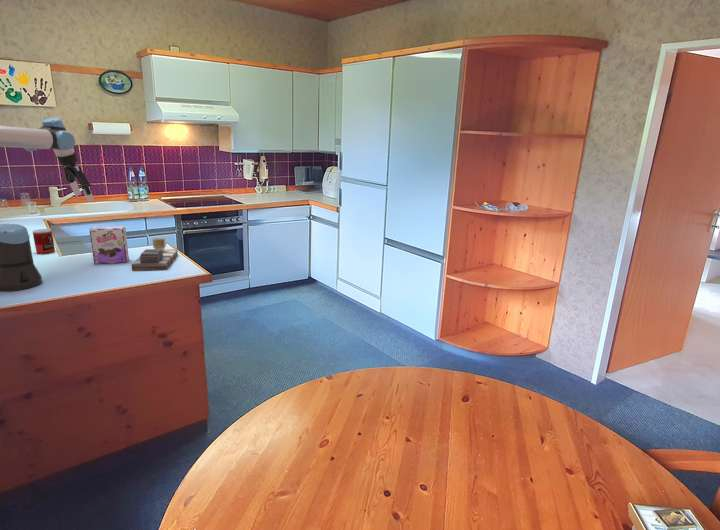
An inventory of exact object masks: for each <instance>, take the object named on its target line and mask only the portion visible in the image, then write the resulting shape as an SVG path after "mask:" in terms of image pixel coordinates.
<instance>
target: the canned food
mask: <svg viewBox="0 0 720 530" xmlns="http://www.w3.org/2000/svg"><path fill="white" fill-rule="evenodd" d="M32 235H33V242H34V247H35V251H36V253H37V254H38V255H49V254H53V253H55V250H56V249H55V242H54V236H53V231H52V229H50V228H48V229H47V228H42V229H40V228H39V229H35V230H33V231H32Z"/></svg>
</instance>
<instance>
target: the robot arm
mask: <svg viewBox="0 0 720 530" xmlns="http://www.w3.org/2000/svg"><path fill="white" fill-rule="evenodd" d="M41 124H42V126H41V127H38V128H34V127H33V128H32V127H21V126H11V125H0V148H16V149H17V148H18V149H19V148H21V149H24V151H27V152H30V153H31V152H34V151H35V152H37V151H38V150H41V149H42V150H53V151H54V154H55V156H57V157H56V158H57V160H58V163H59V164H60V165H62V168H63V172H64V177H65V180H66V181H68V183H69V185H70V188H71V190H72V192H73V195H74V197H78V196H81V195H82V192H81V190H82V191H83V194H84V196H85V198H86V200H87V203H89V202H92V201H95V198H94V195H93V193H92V191H91V188H90V187H91V183H90V182H89V179H88V178H87V177H86V176H85V174H84V172H83V171H82V168H81V166H80V165H77V164H76V163H77V162H79V158H78V155H77V153H76V152H75V149H74V147H75V145H76V140H75V137H74V135H73V133H71V132H69V131H68V130H67V129H66V127H65V124H64V122H63V121H62V119H61V118H60V117H51V118H45V119H43V120H42V121H41ZM77 182H78V183H79V184H80V186H81V190H80V187H79V185H78V183H77ZM42 283H43V278H42V275H41V273H40V271H39V270H38V268H37V267H36V265H35V262H34V259H33V252H32V247H31V242H30V235H29V231H28V229H27V228H26V227H25V226H24V225H22V224H19V223H0V292H13V291H19V290H20V291H21V290H26V289H31V288H34V287H38V286H40V285H41V284H42Z"/></svg>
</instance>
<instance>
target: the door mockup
mask: <svg viewBox="0 0 720 530" xmlns="http://www.w3.org/2000/svg"><path fill="white" fill-rule="evenodd" d="M178 253H179V252H178V249H177V248H173V249H172V248H171V249H165V250H164V251H163V252H162V249H155V248H146V249H144V250H143V252H141V253H140V256H139V257H138V258H137V259H135V260H134V261H133V262H132V263H131V271H132V272H139V271H141V272H143V271H144V272H145V271H167V270H168V268H169V267H170V265H171V264H172V263H173V262H174V261H175V259H176V258H177V257H178Z"/></svg>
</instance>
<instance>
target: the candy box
mask: <svg viewBox="0 0 720 530" xmlns="http://www.w3.org/2000/svg"><path fill="white" fill-rule="evenodd" d="M126 230H127V229H126V226H125V225H123V226H92V227H91V228H89V235H90V242H91V250H92V258H93V264H94V265H101V264H102V265H103V264H104V265H107V264H127V263H128V262H129V261H130V256H129V247H128V246H129V245H128V239H127V231H126Z"/></svg>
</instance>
